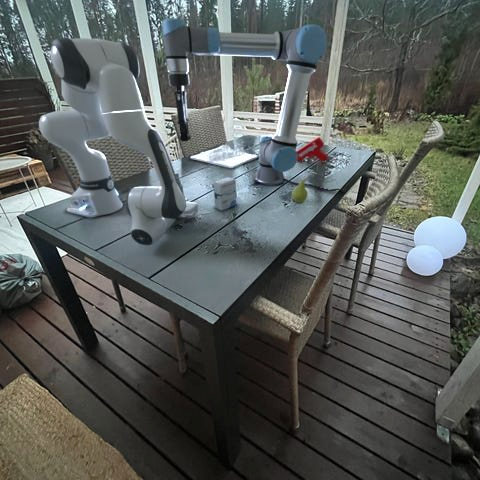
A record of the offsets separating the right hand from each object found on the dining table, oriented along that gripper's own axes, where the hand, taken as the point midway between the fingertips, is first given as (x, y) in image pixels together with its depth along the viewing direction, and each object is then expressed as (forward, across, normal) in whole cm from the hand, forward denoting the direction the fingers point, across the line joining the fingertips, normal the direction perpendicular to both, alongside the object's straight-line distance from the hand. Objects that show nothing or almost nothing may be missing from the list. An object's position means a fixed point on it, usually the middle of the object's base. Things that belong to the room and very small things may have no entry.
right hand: (185, 139), depth 112 cm
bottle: (+26, +17, -3) cm, 31 cm away
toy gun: (+26, -51, +70) cm, 91 cm away
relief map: (+26, -63, +16) cm, 70 cm away
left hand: (+20, +16, -3) cm, 25 cm away
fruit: (+26, +8, +49) cm, 56 cm away
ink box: (+26, +10, +16) cm, 32 cm away
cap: (-2, 0, 0) cm, 2 cm away
